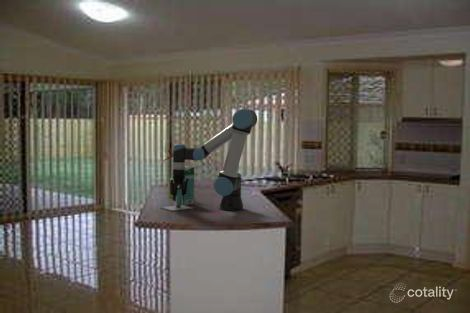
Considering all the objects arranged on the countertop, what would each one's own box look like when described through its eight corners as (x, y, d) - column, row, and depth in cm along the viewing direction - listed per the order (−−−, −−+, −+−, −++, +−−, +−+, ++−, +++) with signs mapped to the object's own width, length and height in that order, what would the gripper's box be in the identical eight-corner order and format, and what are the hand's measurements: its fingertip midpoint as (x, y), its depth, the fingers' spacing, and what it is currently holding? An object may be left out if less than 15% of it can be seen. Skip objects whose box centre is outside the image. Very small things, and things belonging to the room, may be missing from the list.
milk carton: (174, 203, 339) (175, 166, 337) (184, 202, 346) (185, 165, 344) (183, 205, 333) (184, 167, 331) (193, 204, 340) (194, 166, 338)
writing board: (183, 205, 332) (183, 204, 332) (195, 208, 322) (195, 207, 322) (159, 208, 320) (159, 207, 320) (171, 211, 310) (171, 210, 310)
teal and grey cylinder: (179, 206, 324) (180, 186, 323) (182, 207, 321) (183, 187, 320) (174, 206, 322) (175, 187, 321) (177, 207, 319) (177, 188, 318)
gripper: (186, 167, 328) (185, 203, 330) (164, 168, 318) (163, 205, 319) (193, 168, 323) (192, 205, 324) (171, 169, 312) (170, 207, 314)
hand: (178, 205), depth 322 cm, fingers closed on teal and grey cylinder, 3 cm apart
